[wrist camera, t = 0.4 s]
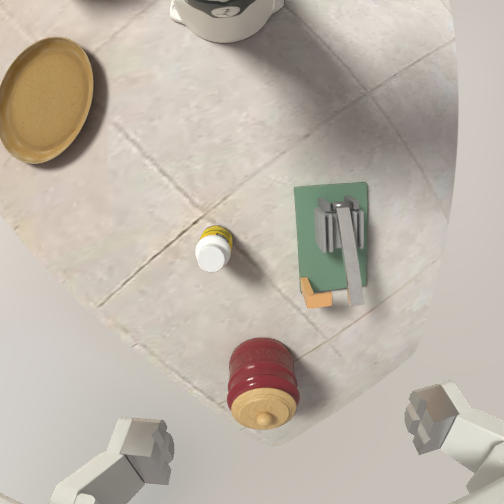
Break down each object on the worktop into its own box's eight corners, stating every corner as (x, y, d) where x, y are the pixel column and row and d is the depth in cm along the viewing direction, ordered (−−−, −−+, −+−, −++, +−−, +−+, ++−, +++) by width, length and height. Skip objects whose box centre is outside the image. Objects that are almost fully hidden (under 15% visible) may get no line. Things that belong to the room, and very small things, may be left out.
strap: (330, 203, 48) (332, 200, 46) (348, 202, 48) (351, 199, 46) (345, 307, 44) (347, 306, 43) (364, 304, 44) (367, 303, 43)
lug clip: (300, 277, 56) (307, 296, 49) (322, 275, 56) (331, 293, 49) (300, 288, 57) (307, 308, 50) (322, 286, 57) (331, 305, 50)
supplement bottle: (236, 227, 54) (233, 246, 45) (229, 256, 56) (226, 280, 46) (204, 220, 53) (195, 238, 44) (198, 250, 55) (189, 273, 46)
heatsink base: (293, 187, 51) (299, 193, 45) (364, 182, 51) (378, 188, 45) (300, 291, 58) (305, 308, 52) (364, 283, 58) (375, 298, 52)
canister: (246, 326, 61) (246, 390, 44) (303, 348, 63) (319, 411, 46) (219, 371, 64) (213, 435, 48) (273, 389, 67) (279, 451, 50)
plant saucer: (118, 124, 47) (110, 124, 44) (23, 182, 50) (14, 185, 47) (83, 17, 39) (75, 12, 36) (-4, 84, 42) (-14, 83, 39)
